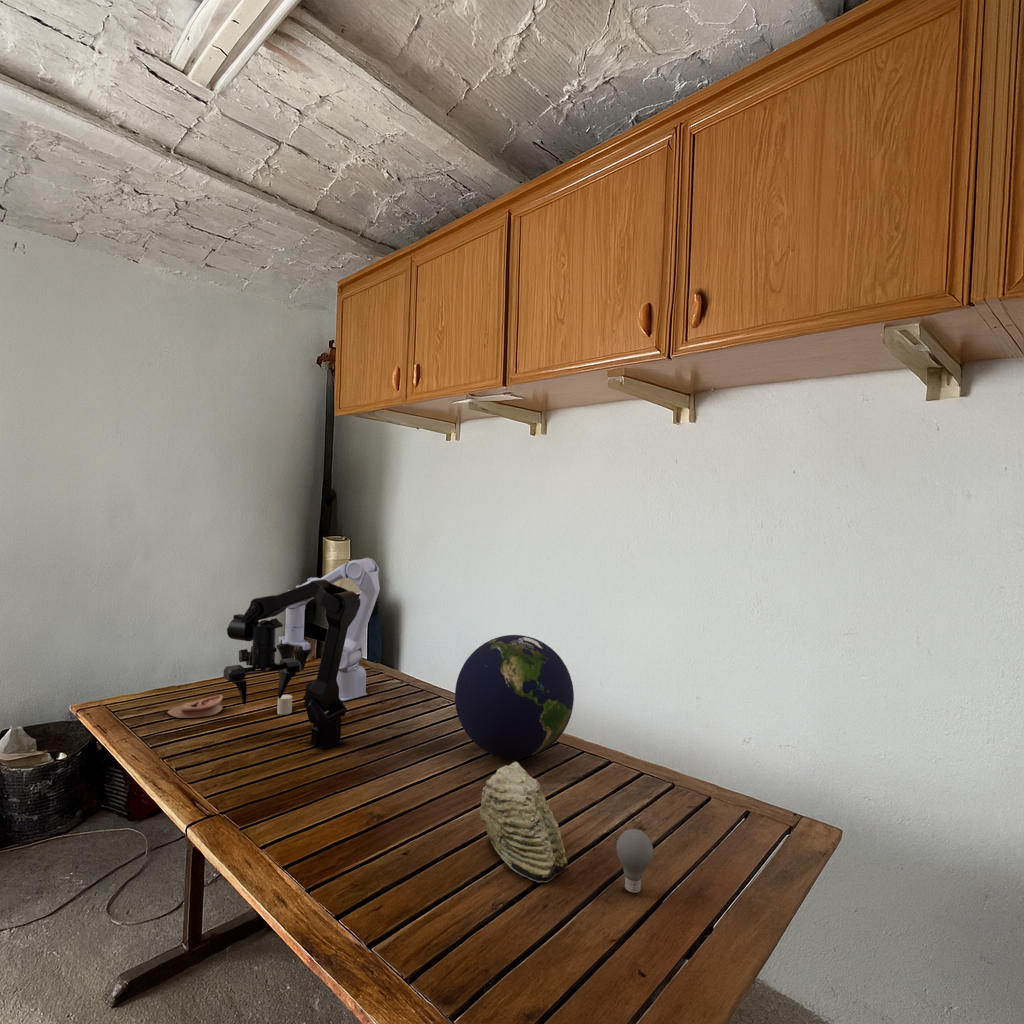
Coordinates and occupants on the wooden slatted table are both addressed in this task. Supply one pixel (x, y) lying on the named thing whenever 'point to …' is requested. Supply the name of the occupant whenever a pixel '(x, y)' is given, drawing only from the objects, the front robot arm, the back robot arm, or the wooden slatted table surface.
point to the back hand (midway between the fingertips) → (293, 668)
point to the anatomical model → (198, 708)
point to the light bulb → (634, 857)
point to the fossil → (522, 824)
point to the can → (284, 705)
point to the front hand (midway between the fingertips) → (262, 701)
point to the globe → (514, 696)
